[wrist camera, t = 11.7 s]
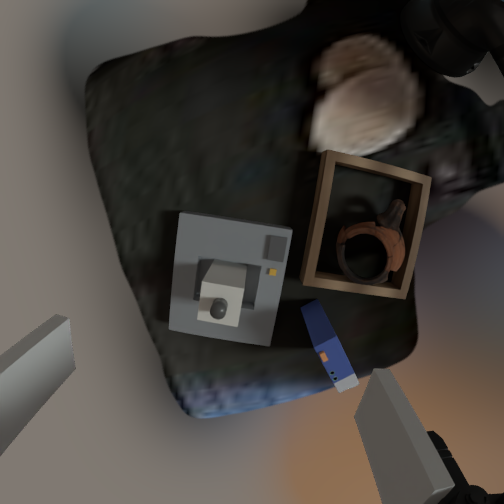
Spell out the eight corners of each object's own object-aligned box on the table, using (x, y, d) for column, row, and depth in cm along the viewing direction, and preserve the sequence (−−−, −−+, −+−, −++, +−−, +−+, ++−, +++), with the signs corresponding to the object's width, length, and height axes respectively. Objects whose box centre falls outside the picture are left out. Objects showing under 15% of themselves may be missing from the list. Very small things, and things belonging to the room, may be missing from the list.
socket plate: (290, 227, 41) (293, 231, 37) (269, 336, 44) (269, 348, 41) (185, 210, 41) (178, 213, 37) (173, 320, 44) (167, 331, 41)
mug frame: (419, 177, 39) (431, 177, 36) (395, 291, 43) (405, 299, 39) (321, 152, 39) (327, 149, 35) (299, 277, 42) (302, 285, 39)
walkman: (299, 307, 43) (313, 349, 32) (317, 298, 43) (337, 337, 31) (322, 349, 45) (339, 396, 33) (338, 340, 44) (360, 386, 33)
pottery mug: (390, 281, 43) (382, 304, 36) (335, 252, 46) (318, 269, 40) (425, 208, 38) (425, 218, 31) (365, 179, 41) (353, 182, 34)
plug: (247, 264, 42) (243, 295, 30) (241, 295, 43) (236, 335, 31) (214, 259, 42) (198, 287, 30) (210, 289, 43) (193, 327, 31)
